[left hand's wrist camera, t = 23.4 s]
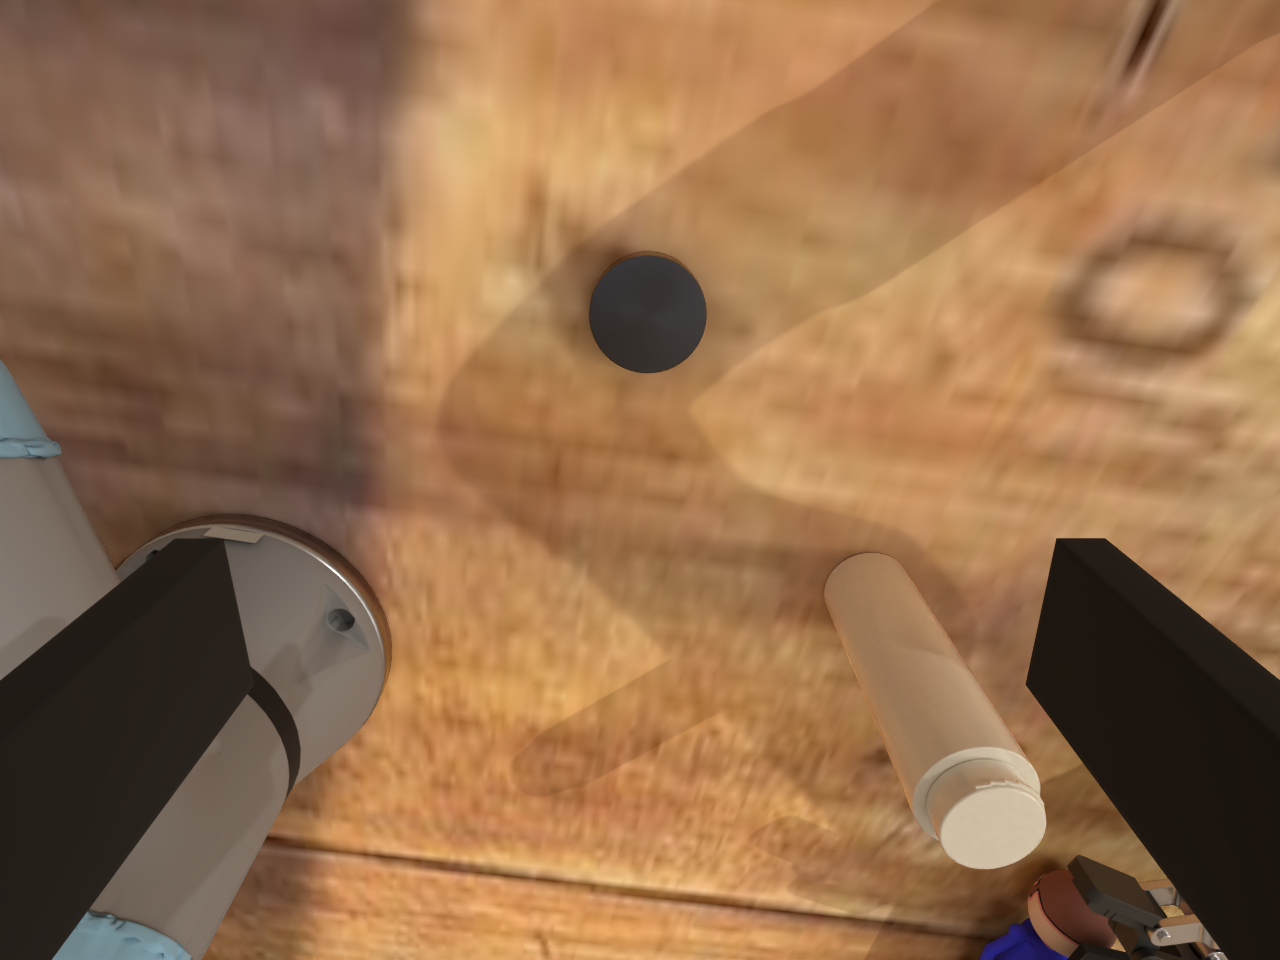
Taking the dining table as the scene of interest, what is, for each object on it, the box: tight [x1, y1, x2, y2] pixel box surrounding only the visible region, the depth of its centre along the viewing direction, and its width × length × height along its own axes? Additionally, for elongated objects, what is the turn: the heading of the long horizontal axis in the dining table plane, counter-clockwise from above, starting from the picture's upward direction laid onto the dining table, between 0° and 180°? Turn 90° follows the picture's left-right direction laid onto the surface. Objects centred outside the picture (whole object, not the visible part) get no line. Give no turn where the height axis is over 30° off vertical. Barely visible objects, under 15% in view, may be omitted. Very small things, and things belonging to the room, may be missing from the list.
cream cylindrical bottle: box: [824, 553, 1046, 869], centre depth 36 cm, size 5×5×17 cm
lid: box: [589, 251, 706, 373], centre depth 38 cm, size 5×5×2 cm
